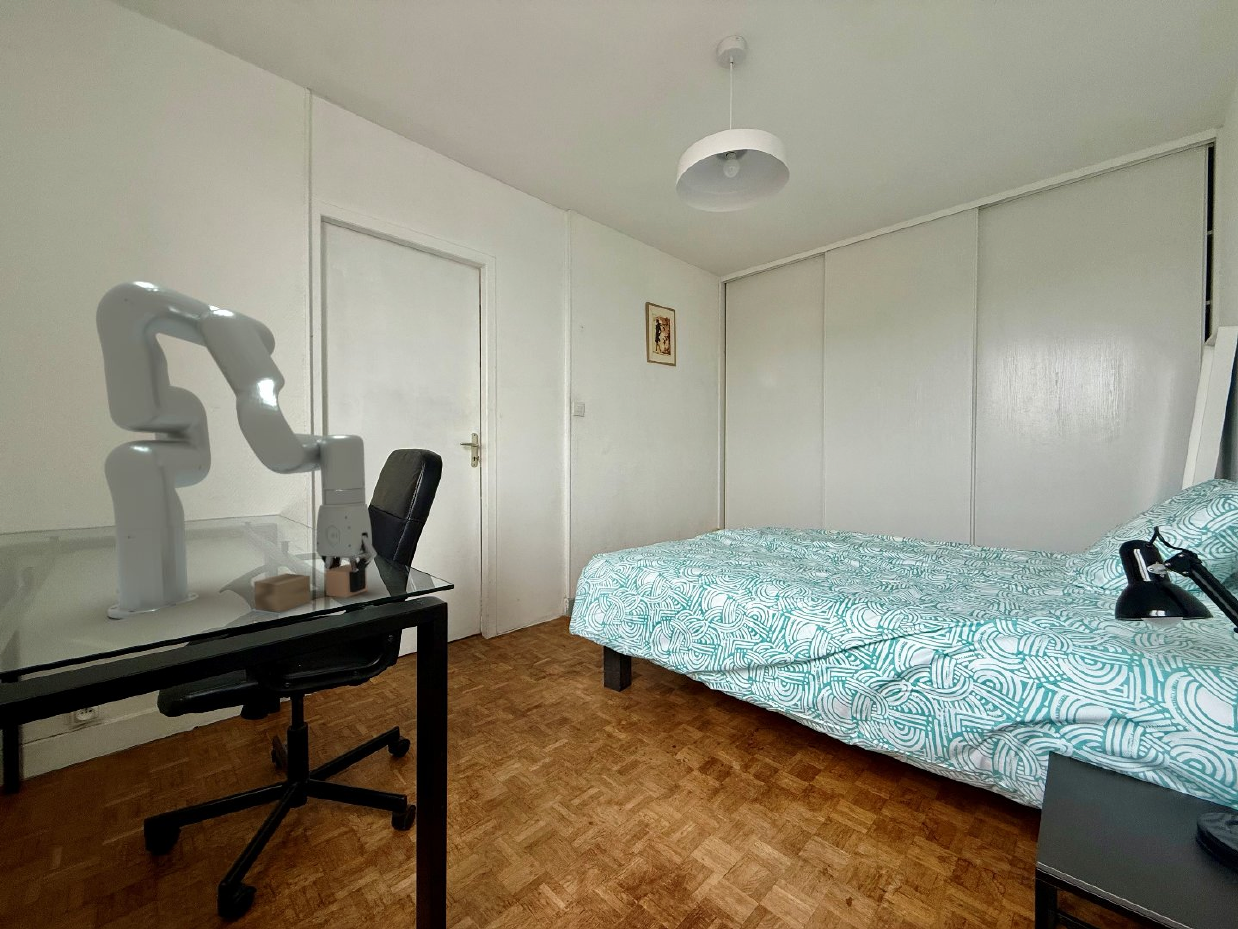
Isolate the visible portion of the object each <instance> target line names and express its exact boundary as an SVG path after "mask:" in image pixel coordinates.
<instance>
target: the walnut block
mask: <svg viewBox="0 0 1238 929" xmlns="http://www.w3.org/2000/svg"><path fill="white" fill-rule="evenodd" d="M253 582H254V583H253V584H254V585H253V586H254V602H255V603H254V606H255V607H254V609H256V610H262V611H269V612H275V613H281V612H284V611H287V610H290V609H293V608H296V607H299V606H302V605H305V604H308V603H311V602H312V601H311V600H312V599H311V575H304V574H296V573H295V574H294V573H282V574H279V575H275V576H270V577H268V578H263V579H260V580H256V581H253Z"/></svg>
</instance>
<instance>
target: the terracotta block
mask: <svg viewBox="0 0 1238 929" xmlns="http://www.w3.org/2000/svg"><path fill="white" fill-rule="evenodd" d="M350 572H352V569H351V565H350V563H349V564H348V563H347V564H343V565H341V566H339V567H336V568H332V569H325V586H326V589H325V590H326V591H325V592H326V596H330V597H338V598H349V597H351V596H355V595H358V594H361V593H364V592H366V591H368V580H367V578H368V577H367V573H368V572H367V569H365V582H366V587H365V589H363V590H360V591H357V592H350Z"/></svg>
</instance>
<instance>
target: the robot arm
mask: <svg viewBox="0 0 1238 929" xmlns="http://www.w3.org/2000/svg"><path fill="white" fill-rule="evenodd" d="M95 321H96V322H95V323H96V330H97V335H98V339H99V344H100V347H101V352H102V358H103V366H104V367H103V368H104V377H105V384H106V385H105V386H106V394H107V403H108V404H107V405H108V410H109V414H110V418H111V419H112V421H113V423H114V424H115V425H116V426H117V427H119V428H120V429H122V430H124V431H128V432H133V433H143V434H144V433H145V434H154V439H142V440H141V439H140V440H139V439H138V440H132V441H127V442H125V443H122V444H120V445H118V446H116V447H114V448H113V449H112V450H111V451H110V452H109V453H108V455H107V456H106V459H105V462H104V466H103V467H104V470H103V471H104V476H105V480H106V483H107V486H108V489H109V491H110V492H109V493H110V495H111V500H112V506H113V512H114V513H113V515H114V529H115V530H114V531H115V546H116V547H115V549H116V564H117V565H116V566H117V567H116V568H117V583H118V588H117V589H116V591H115V592H116V594H117V595H118V603H116V604H113V605H112V606H110V607H109V608H108V609H107V616H108V617H110V618H112V619H123V620H124V619H127V618H130V617H134V616H138V615H142V614H146V613H149V612H153V611H157V610H158V611H159V610H161V609H165V608H168V607H172V606H176V605H180V604H183V603H188V602H191V601H195V600H199V599H200V598H199V593H196V592H191V591H189V586H188V584H189V583H188V567H187V566H188V565H187V563H188V562H187V560H188V559H187V544H186V540H187V539H186V522H185V510H184V506H183V503H182V500H181V499H180V496H179V495H178V492H177V489H180V488H187V487H192V486H195V485H197V484H199V483H201V482H203V480H204V479H206V477H207V476H208V474H209V472H210V470H211V464H212V454H211V452H212V451H211V446H210V445H211V443H210V436H209V435H210V434H209V425H208V416H207V411H206V408H205V406H204V403H202V400H200V398H199V397H198V396H197V395H196V394H195V393H193V392H192V391H191V390H188V389H185V388H183V387H178V386H174V385H172V384H171V382H170V376H169V370H168V369H169V367H168V361H167V357H166V354H165V352H164V350H163V348H162V346H161V344H160V343H159V342H158V340H157V334H161V335H164V336H168V337H172V338H176V339H179V340H183V341H186V342H190V343H192V344H196V345H198V346H202V347H204V348H206V350H207V351H208V353H209V355H210V356H211V358H212V359H213V361H214V362H215V363H216V366H217V368H218V369H219V371H220V372H221V374H222V375H223V378H224V379H225V380H226V382H227V384H228V385H229V387H230V389H231V390H232V392H233V394H234V395H235V398H236V399H235V400H236V401H235V402H236V403H235V410H236V415H237V416H236V417H237V422H238V426H239V428H240V431H241V432H242V435H243V437H244V439H245V440H246V442H247V443H248V445H249V446H250V448H251V450H252V452H253V453H254V454H255V456H256V457H257V459H258V460H259V462H260V463H261V464H262V465H263V466H264V467H265V468H267V469H268V470H270V471H271V472H273V473H276V474H280V475H292V474H293V475H294V474H300V473H301V474H302V473H310V472H311V473H312V472H318V471H320V477H321V478H320V479H321V482H320V483H321V484H320V486H321V504H319V507H318V508H319V509H318V512H317V519H316V530H315V531H316V532H315V533H316V540H315V546H316V549H315V551H316V553H317V554H318V556H319V557H320V558H321V560H322V561H323V563H324V568H325V570H328V569H332V568H336V567H339V566H342V562H343V561H342V560H343V558H344V559H348V562H349V564H350V565H351V569H352V572H350V592H357V591H360V590H363V589H365V587H366V582H365V569H366V570H367V569H368V568H369V565H370V563H372V561H373V560H374V559H375V557H377V555H378V554H377V551H376V550H375V548H374V546H373V538H372V536H373V534H372V525H371V518H370V513H369V507H368V504H366V503H367V502H366V500H367V499H366V474H365V473H366V472H365V471H366V470H365V443H364V440H363V438H362V437H361V436H359V435H358V434H357V435H356V434H328V435H316V434H309V433H308V434H307V433H297V432H296V433H294V431H293V430H292V428H291V426H290V425H289V423H288V422H287V420H286V418H285V416H284V414H283V413H282V409H281V408H280V404H279V403H280V402H279V394H280V391H282V389H283V388H284V386H285V384H286V380H285V377H284V375H283V374H282V372H281V370H280V369H279V368H278V366H277V364H276V363H275V361H274V359H273V357H272V354H273V353H274V351H275V349H276V348H275V347H276V341H275V337H274V336H275V335H274V334H273V333H272V331H271V329H270V328H269V326H267V325H266V324H264V323H263V322H261V321H260V320H258V319H255V318H253V317H250V316H249V315H246V314H244V313H242V312H239V311H236V310H232V309H229V308H220V307H217V306H215V305H212V304H209V303H206V302H204V301H201V300H199V299H197V298H194V297H190V296H188V295H186V294H183V293H181V292H179V291H177V290H175V289H172V288H170V287H167V286H164V285H161V284H159V283H155V282H151V281H145V280H129V281H124V282H121V283H118V284H116V285H115V286H113V287H111V288H110V289H109V290H107V292H105V293H104V295H103V296H102V298H101V299H100V301H99V302H98V304H97V307H96V311H95ZM357 558H358V561H357Z"/></svg>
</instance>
